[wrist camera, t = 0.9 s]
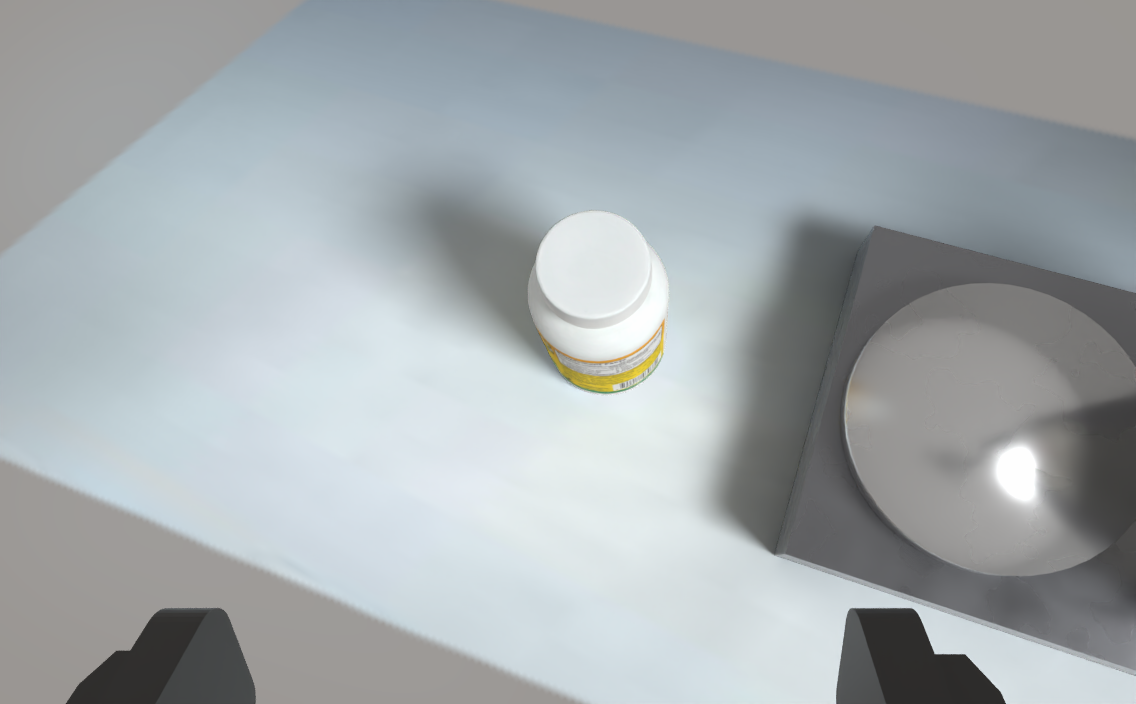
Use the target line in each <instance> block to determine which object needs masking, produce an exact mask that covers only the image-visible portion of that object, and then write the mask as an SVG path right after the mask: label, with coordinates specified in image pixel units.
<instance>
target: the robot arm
mask: <svg viewBox="0 0 1136 704" xmlns="http://www.w3.org/2000/svg"><path fill="white" fill-rule="evenodd" d="M255 699H256V696H255V687H254V683H253V680H252V677H251V674H250V672H249V669H248V666H247V664H246V661H245V659H244V656H243V653H242V651H241V648H240V645H239V643H238V640H237V638H236V635H235V633H234V630H233V627H232V625H231V622H230V619H229V617H228V615H227V613H226V612H225V611H224V610H222V609H220V608H165V609H162V610H160V611H158V612H157V613H156V614H154V615H153V617H152V618H151V619H150V621H149V622H148V624H147V625H146V627H145V628H144V630H143V631H142V633H141V635H140V636H139V638H138V639H137V641H136V643H135V644H134V646H133V647H132V649H131V650H130V651H116V652H115V653H114V654H112V655H111V656H110V657H109V658H108V659H107V660H106V661H105V662H103V664H101V665H100V666H99V667H98V668H97V669H96V670H95V671H93V672H92V673H91V674H90V675H89V676H88V677H87V678H86V679H84V681H82V682H81V683H80V684H79V685H78V686H77V688H76V689H75V691H74V692H73V694H72V695H71V697H70V698H69V700H68V701H67V703H66V704H255V702H256V700H255ZM836 704H1006V703H1005V701H1004V699H1003V696H1002V694H1001V692H1000V691H999V690H998V689H997V688H996V687H995V686H994V685H993V684H992V682H991V681H990V680H989V679H988V678H987V677H986V676H985V675H984V674H983V673H982V672H981V671H980V670H979V669H978V668H977V667H976V665H975V664H974V663H973V662H972V661H971V660H970V659H969V658H968V657H967V656H966V655H965V654H934V651H933V649H932V646H931V644H930V641H929V639H928V636H927V634H926V631H925V629H924V626H923V624H922V621H921V619H920V617H919V615H918V614H917V612H916V611H915V610H914V609H911V608H851V609H850V610H849V611H848V614H847V618H846V625H845V632H844V639H843V646H842V653H841V661H840V668H839V675H838V682H837V691H836Z"/></svg>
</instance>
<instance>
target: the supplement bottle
mask: <svg viewBox="0 0 1136 704" xmlns="http://www.w3.org/2000/svg"><path fill="white" fill-rule="evenodd" d="M528 304H529V309H530V313H531V316H532V319H533V321H534V324H535V326H536V328H537V330H538V332H539V335H540V336H541V339H542V341H543V343H544V345H545V346H546V349H547V351H548V353H549V355H550V357H551V359H552V361H553V363H554V364H555V366H556V367H557V369H558V371H559V372H560V373H561V375H562V376H563V377H564V378H565V379H566V380H567V381H568V382H569V383H570V384H572V385H573V386H575V387H576V388H578V389H580V390H582V391H585V392H588V393H592V394H597V395H615V394H620V393H624V392H627V391H630V390H632V389H634V388H636V387H638V386H639V385H641V384H642V383H644V382H645V381H646V380H647V379H648V378H649V377H650V376H651V375H652V374H653V373H654V372H655V370H656V369H657V367H658V366H659V364H660V362H661V360H662V358H663V354H664V351H665V346H666V337H667V317H668V304H669V282H668V278H667V273H666V270H665V268H664V265H663V263H662V261H661V259H660V257H659V256H658V254H657V253H656V251H655V250H654V249H653V248H652V247H651V245H650V244H649V243H648V242H646V241H645V239H644V237H643V236H642V234H641V233H640V232H639V230H638V229H637V228H636V227H635V226H634V225H633V224H632V223H631V222H629V221H628V220H626V219H624V218H623V217H621V216H619V215H616V214H614V213H610V212H607V211H598V210H589V211H583V212H579V213H575V214H572V215H569V216H567V217H566V218H564V219H562V220H560V221H559V222H558V223H556V224H555V225H554V226H553V227H552V228H551V229H550V230H549V231H548V232H547V234H546V235H545V236H544V238H543V240H542V241H541V243H540V245H539V248H538V251H537V255H536V262H535V264H534V266H533V268H532V271H531V274H530V278H529V282H528Z"/></svg>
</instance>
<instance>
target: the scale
mask: <svg viewBox="0 0 1136 704" xmlns="http://www.w3.org/2000/svg"><path fill="white" fill-rule="evenodd" d="M774 555H775V556H778V557H781V558H784V559H787V560H790V561H793V562H796V563H799V564H802V565H805V566H808V567H811V568H814V569H817V570H820V571H823V572H826V573H829V574H832V575H835V576H838V577H841V578H844V579H847V580H850V581H853V582H856V583H859V584H862V585H865V586H868V587H871V588H874V589H877V590H880V591H883V592H886V593H889V594H892V595H895V596H898V597H901V598H904V599H907V600H910V601H913V602H916V603H919V604H922V605H925V606H928V607H931V608H934V609H937V610H940V611H943V612H946V613H949V614H952V615H955V616H958V617H961V618H964V619H967V620H970V621H973V622H976V623H979V624H982V625H985V626H988V627H991V628H994V629H997V630H1000V631H1003V632H1006V633H1009V634H1012V635H1015V636H1018V637H1021V638H1024V639H1027V640H1030V641H1033V642H1036V643H1039V644H1042V645H1045V646H1048V647H1051V648H1054V649H1057V650H1060V651H1063V652H1066V653H1069V654H1072V655H1075V656H1078V657H1081V658H1084V659H1087V660H1090V661H1093V662H1096V663H1099V664H1102V665H1105V666H1108V667H1111V668H1114V669H1117V670H1120V671H1123V672H1126V673H1129V674H1132V675H1135V676H1136V293H1132V292H1128V291H1125V290H1121V289H1117V288H1113V287H1109V286H1105V285H1102V284H1098V283H1094V282H1090V281H1086V280H1082V279H1078V278H1075V277H1071V276H1067V275H1063V274H1059V273H1055V272H1052V271H1048V270H1044V269H1040V268H1036V267H1032V266H1028V265H1025V264H1021V263H1017V262H1013V261H1009V260H1005V259H1002V258H998V257H994V256H990V255H986V254H982V253H978V252H975V251H971V250H967V249H963V248H959V247H955V246H952V245H948V244H944V243H940V242H936V241H932V240H928V239H925V238H921V237H917V236H913V235H909V234H905V233H902V232H898V231H894V230H890V229H886V228H882V227H878V226H874V227H873V229H872V230H871V232H870V233H869V235H868V236H867V238H866V240H865V241H864V243H863V244H862V246H861V247H860V249H859V250H858V252H857V256H856V259H855V263H854V266H853V270H852V274H851V277H850V281H849V285H848V288H847V292H846V296H845V299H844V303H843V306H842V310H841V314H840V317H839V321H838V325H837V328H836V332H835V336H834V339H833V343H832V347H831V350H830V354H829V357H828V361H827V365H826V368H825V372H824V376H823V379H822V383H821V387H820V390H819V394H818V398H817V401H816V405H815V408H814V412H813V416H812V419H811V423H810V427H809V430H808V434H807V438H806V441H805V445H804V448H803V452H802V456H801V459H800V463H799V467H798V470H797V474H796V478H795V481H794V485H793V489H792V492H791V496H790V499H789V503H788V507H787V510H786V514H785V518H784V521H783V525H782V529H781V532H780V536H779V540H778V543H777V547H776V550H775V554H774Z"/></svg>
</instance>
